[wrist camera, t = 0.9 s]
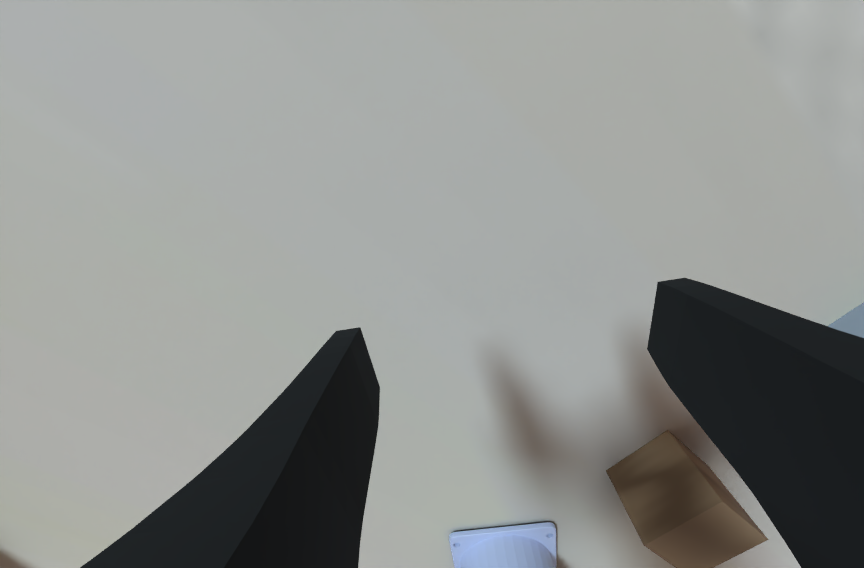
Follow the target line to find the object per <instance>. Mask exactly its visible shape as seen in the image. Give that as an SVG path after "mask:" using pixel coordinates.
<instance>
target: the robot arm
mask: <svg viewBox="0 0 864 568" xmlns="http://www.w3.org/2000/svg"><path fill="white" fill-rule="evenodd" d="M647 350H648V351H649V353H650V355H651V357H652V359H653V360H654V362H655V364H656V366H657V367H658V369H659V371H660V372H661V374H662V376H663V377H664V379H665V380H666V382H667V384H668V385H669V387H670V388H671V389H672V391H673V392H674V393H675V395H676V396H677V397H678V398H679V400H680V401H681V402H682V404H683V405H684V406H685V407H686V409H687V410H688V411H689V412H690V414H691V415H692V416H693V418H694V419H695V420H696V421H697V423H698V424H699V425H700V426H701V428H702V429H703V430H704V431H705V433H706V434H707V435H708V436H709V438H710V439H711V440H712V441H713V443H714V444H715V445H716V446H717V448H718V449H719V450H720V451H721V453H722V454H723V455H724V456H725V458H726V459H727V460H728V461H729V463H730V464H731V465H732V466H733V468H734V469H735V470H736V471H737V473H738V474H739V475H740V477H741V478H742V479H743V481H744V482H745V483H746V485H747V486H748V487H749V489H750V490H751V492H752V493H753V494H754V496H755V497H756V498H757V500H758V502H759V503H760V505H761V506H762V508H763V509H764V511H765V512H766V514H767V515H768V517H769V518H770V520H771V521H772V523H773V524H774V526H775V527H776V529H777V530H778V532H779V533H780V535H781V536H782V538H783V539H784V541H785V542H786V544H787V545H788V547H789V549H790V550H791V552H792V553H793V555H794V557H795V558H796V560H797V561H798V563H799V565H800V566H801V568H864V338H862V337H859V336H855V335H852V334H849V333H846V332H843V331H840V330H837V329H834V328H831V327H828V326H825V325H822V324H819V323H816V322H813V321H810V320H807V319H804V318H801V317H798V316H795V315H793V314H790V313H787V312H784V311H781V310H778V309H776V308H773V307H770V306H767V305H764V304H762V303H759V302H756V301H753V300H750V299H748V298H745V297H742V296H739V295H736V294H734V293H731V292H728V291H725V290H722V289H719V288H716V287H713V286H710V285H707V284H704V283H701V282H698V281H694V280H691V279H687V278H681V279H674V280H668V281H661V282H658V284H657V291H656V297H655V303H654V310H653V316H652V322H651V329H650V335H649V341H648V348H647ZM379 394H380V387H379V384H378V381H377V377H376V374H375V371H374V368H373V365H372V362H371V359H370V356H369V353H368V350H367V347H366V344H365V341H364V338H363V334H362V331H361V328H353V329H347V330H340V331H336V332H335V333H334V334H333V335H332V336H331V337H330V339H329V340H328V341H327V342H326V343H325V344H324V345H323V347H322V348H321V349H320V350H319V351H318V352H317V354H316V355H315V356H314V357H313V358H312V359H311V361H310V362H309V363H308V364H307V365H306V366H305V368H304V369H303V370H302V371H301V372H300V373H299V374H298V376H297V377H296V378H295V379H294V380H293V381H292V382H291V384H290V385H289V386H288V387H287V388H286V389H285V390H284V391H283V393H282V394H281V395H280V396H279V397H278V398H277V399H276V400H275V401H274V402H273V403H272V404H271V405H270V406H269V407H268V408H267V409H266V410H265V411H264V412H263V413H262V415H261V416H260V417H259V418H258V419H257V420H256V421H255V422H254V423H253V424H252V425H251V426H250V427H249V428H248V429H247V430H246V431H245V432H244V433H243V434H242V435H241V436H240V437H239V438H238V439H237V440H236V441H235V442H234V443H233V444H232V445H231V446H229V447H228V448H227V449H226V450H225V451H224V452H223V453H222V454H221V455H220V456H219V457H217V458H216V459H215V460H214V461H213V462H212V463H211V464H210V465H209V466H207V467H206V468H205V469H204V470H203V471H202V472H201V473H200V474H198V475H197V476H196V477H195V478H194V479H193V480H192V481H190V482H189V483H188V484H187V485H186V486H184V487H183V488H182V489H181V490H179V491H178V492H177V493H176V494H174V495H173V496H172V497H171V498H170V499H168V500H167V501H166V502H165V503H163V504H162V505H161V506H160V507H158V508H157V509H156V510H155V511H154V512H152V513H151V514H150V515H149V516H147V517H146V518H145V519H144V520H142V521H141V522H140V523H139V524H138V525H136V526H135V527H134V528H133V529H131V530H130V531H129V532H127V533H126V534H125V535H123V536H122V537H121V538H120V539H118V540H117V541H116V542H114V543H113V544H112V545H110V546H109V547H108V548H106V549H105V550H104V551H102V552H101V553H100V554H98V555H97V556H96V557H94V558H93V559H92V560H90V561H89V562H87V563H86V564H85V565H83V566H82V567H81V568H358V561H359V548H360V538H361V530H362V522H363V515H364V509H365V503H366V497H367V491H368V485H369V479H370V473H371V467H372V461H373V455H374V449H375V443H376V437H377V430H378V420H379ZM449 542H450V547H451V552H452V557H453V561H454V566H455V568H556V528H555V525H554V524H553V523H551V522H545V523H535V524H526V525H516V526H506V527H497V528H487V529H478V530H468V531H458V532H452V533H451V534H450V535H449Z"/></svg>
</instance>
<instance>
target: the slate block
mask: <svg viewBox="0 0 864 568" xmlns="http://www.w3.org/2000/svg"><path fill="white" fill-rule="evenodd" d="M828 327H831V328H834V329H837V330H840V331H843V332H846V333H849V334H852V335H855V336H859V337H862V338H864V303H862V304H861V305H859V306H858V307H856V308H854V309H853V310H851V311H850V312H848V313H847V314H845V315H844V316H842V317H841V318H839V319H838V320H836V321H835V322H833V323H832V324H830V325H829V326H828Z"/></svg>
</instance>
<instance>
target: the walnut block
mask: <svg viewBox="0 0 864 568" xmlns="http://www.w3.org/2000/svg"><path fill="white" fill-rule="evenodd" d="M606 472H607V474H608V476H609V478H610V480H611V482H612V484H613V485H614V487H615V489H616V491H617V493H618V495H619V497H620V499H621V501H622V503H623V505H624V507H625V509H626V511H627V513H628V515H629V517H630V519H631V521H632V523H633V525H634V527H635V529H636V531H637V533H638V535H639V536H640V538H641V540H642V542H643V544H644V546H646V547H647V548H648V549H650V550H651V551H653V552H654V553H656V554H657V555H659V556H660V557H661V558H663V559H664V560H666V561H667V562H669V563H670V564H672V565H673V566H674V567H676V568H713V567H715V566H717V565H719V564H721V563H723V562H725V561H727V560H729V559H731V558H733V557H735V556H737V555H739V554H741V553H743V552H745V551H747V550H749V549H750V548H752V547H754V546H756V545H758V544H760V543H762V542H764V541H766V540H768V539H767V538H766V536H765V535H764V534H763V533H762V531H761V530H760V529H759V528H758V526H757V525H756V524H755V523H754V522H753V520H752V519H751V518H750V517H749V515H748V514H747V513H746V512H745V510H744V509H743V508H742V507H741V506H740V504H739V503H738V502H737V501H736V499H735V498H734V497H733V496H732V494H731V493H730V492H729V491H728V490H727V488H726V487H725V486H724V485H723V483H722V482H721V481H720V480H719V478H718V477H717V476H716V475H715V474H714V472H713V471H712V470H711V469H710V467H709V466H708V465H707V464H706V463H704V462H703V461H702V460H701V459H700V458H699V457H698V456H696V455H695V454H694V453H693V452H692V451H691V450H690V449H688V448H687V447H686V446H685V445H684V444H683V443H681V442H680V441H679V440H678V439H677V438H676V437H675V436H673V435H672V434H671V433H670V432H669V431H668V430H667V431H665V432H664V433H662V434H661V435H659V436H658V437H656V438H655V439H653V440H652V441H650V442H649V443H647V444H646V445H644V446H643V447H641V448H640V449H638V450H637V451H635V452H634V453H632V454H631V455H629V456H628V457H626V458H624V459H623V460H621V461H620V462H618V463H617V464H615V465H614V466H612V467H611V468H609V469H608V470H606Z"/></svg>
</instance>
